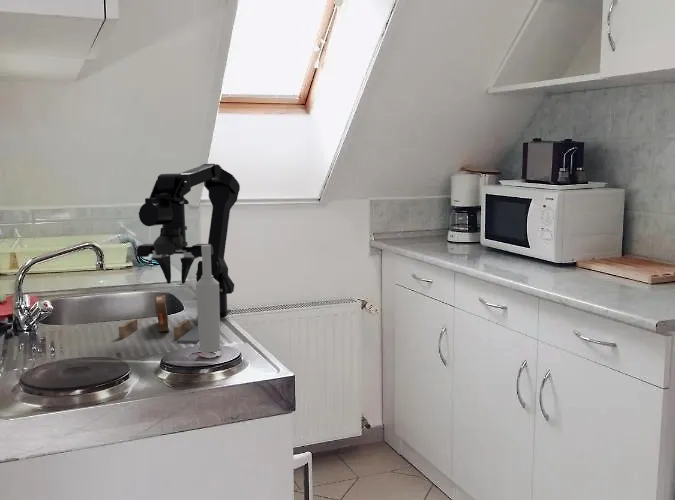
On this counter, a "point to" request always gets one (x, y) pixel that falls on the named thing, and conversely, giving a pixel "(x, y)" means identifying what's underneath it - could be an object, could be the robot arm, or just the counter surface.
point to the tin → (162, 313)
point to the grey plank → (190, 336)
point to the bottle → (208, 306)
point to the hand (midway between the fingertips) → (176, 283)
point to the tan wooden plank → (133, 326)
